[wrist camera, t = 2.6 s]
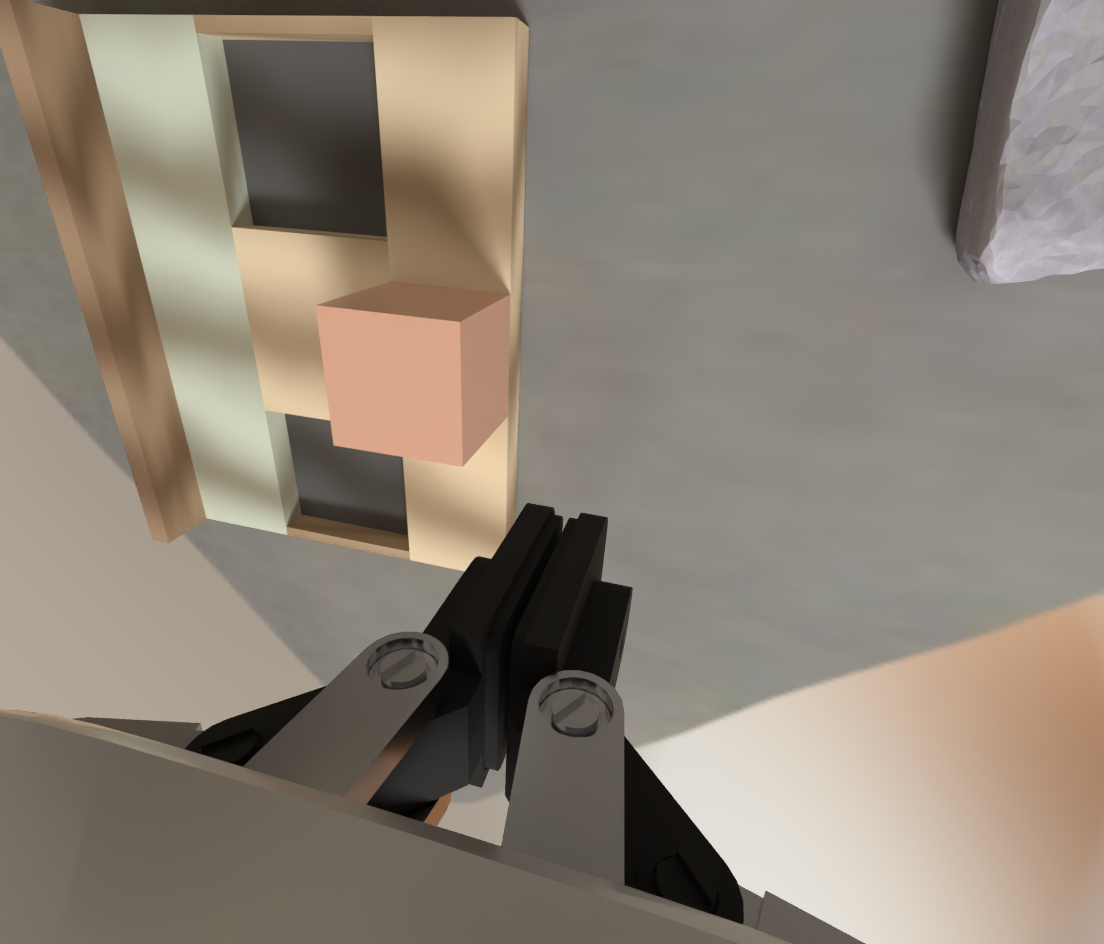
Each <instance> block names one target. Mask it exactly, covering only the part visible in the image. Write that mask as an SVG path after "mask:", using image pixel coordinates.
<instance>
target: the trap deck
mask: <svg viewBox="0 0 1104 944" xmlns="http://www.w3.org/2000/svg"><path fill="white" fill-rule="evenodd" d="M0 46H1V49H2V52H3V55H4V59H5V62H6V65H7V68H8V72H9V75H10V78H11V81H12V85H13V88H14V91H15V94H16V98H17V101H18V104H19V107H20V111H21V114H22V117H23V120H24V124H25V127H26V130H27V133H28V137H29V140H30V143H31V146H32V150H33V153H34V156H35V159H36V163H37V166H38V169H39V172H40V175H41V179H42V182H43V185H44V188H45V192H46V195H47V198H48V201H49V205H50V208H51V211H52V214H53V218H54V221H55V224H56V227H57V231H58V234H59V237H60V240H61V244H62V247H63V250H64V253H65V257H66V260H67V263H68V266H69V270H70V273H71V276H72V279H73V283H74V286H75V289H76V292H77V296H78V299H79V302H80V305H81V308H82V312H83V315H84V318H85V321H86V325H87V328H88V331H89V334H90V338H91V341H92V344H93V347H94V351H95V354H96V357H97V360H98V364H99V367H100V370H101V373H102V377H103V380H104V383H105V386H106V390H107V393H108V396H109V399H110V403H111V406H112V409H113V412H114V416H115V419H116V422H117V425H118V428H119V432H120V435H121V438H122V441H123V445H124V448H125V451H126V454H127V458H128V461H129V464H130V467H131V471H132V474H133V477H134V480H135V484H136V487H137V490H138V493H139V497H140V500H141V503H142V506H143V510H144V513H145V516H146V519H147V523H148V526H149V529H150V532H151V535H152V539H153V540H158V541H162V542H167V543H170V542H171V541H173V540H174V539H176V538H177V537H179V536H180V535H182V534H184V533H185V532H187V531H188V530H190V529H191V528H193V527H194V526H196V525H197V524H199V523H200V522H202V521H203V520H205V519H206V518H208V519H213V520H218V521H222V522H227V523H232V524H237V525H242V526H247V527H252V528H257V529H261V530H266V531H271V532H276V533H281V534H286V535H291V536H296V537H301V538H305V539H310V540H315V541H320V542H325V543H330V544H335V545H340V546H344V547H349V548H354V549H359V550H364V551H369V552H374V553H379V554H384V555H388V556H393V557H398V558H403V559H408V560H413V561H418V562H423V563H427V564H432V565H437V566H442V567H447V568H452V569H457V570H462V571H466V569H467V568H468V566H469V565H470V563H471V562H472V561H473V559H474V558H475V557H478V556H480V557H485V558H490V559H492V557H493V555H494V554H495V552H496V551H497V549H498V548H499V546H500V544H501V543H502V541H503V540H504V538H505V537H506V535H507V533H508V532H509V530H510V529H511V527H512V526H513V524H514V523H515V517H516V481H517V445H518V409H519V374H520V338H521V302H522V266H523V231H524V195H525V159H526V123H527V87H528V52H529V27H528V26H527V25H525V24H524V23H523V22H521V21H520V20H519V19H518V18H516V17H432V16H285V15H138V14H76V13H73V12H69V11H65V10H61V9H57V8H53V7H49V6H45V5H41V4H37V3H33V2H29V1H25V0H0ZM387 282H399V283H409V284H418V285H428V286H438V287H447V288H457V289H466V290H476V291H486V292H495V293H505V294H510V339H509V391H508V417H507V418H506V419H505V420H504V421H503V423H502V424H501V425H500V426H499V427H498V428H497V429H496V430H495V431H494V433H493V434H492V435H491V436H490V437H489V438H488V439H487V440H486V442H485V443H484V444H483V445H482V446H481V447H480V448H479V449H478V451H477V452H476V453H475V454H474V455H473V456H472V457H471V458H470V460H469V461H468V462H467V463H466V464H465V465H464V466H463V467H459V466H453V465H448V464H442V463H436V462H430V461H424V460H418V459H412V458H406V457H400V456H394V455H388V454H382V453H376V452H370V451H364V450H358V449H352V448H346V447H340V446H334V445H333V437H332V429H331V422H330V414H329V406H328V398H327V391H326V383H325V375H324V367H323V360H322V352H321V344H320V336H319V329H318V321H317V313H316V306H315V305H318V304H321V303H324V302H327V301H330V300H334V299H337V298H340V297H343V296H346V295H349V294H353V293H356V292H359V291H362V290H365V289H368V288H372V287H375V286H378V285H381V284H384V283H387Z"/></svg>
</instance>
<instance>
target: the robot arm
mask: <svg viewBox="0 0 1104 944" xmlns="http://www.w3.org/2000/svg"><path fill="white" fill-rule="evenodd" d="M607 524H608V518H607V517H603V516H597V515H592V514H586V513H580V515H579V517H578V519H575V518H569V519H568V521H567V524H566V526H565V528H564V530H563V532H562V527H563V517H562V516H558V515H555V511H554V508H553V507H547V506H542V505H536V504H531V503H527V504H526V505H525V507H524V508H523V510H522V512H521V513H520V515H519V516H518V518H517V519H516V521H515V523H514V524H513V526H512V527H511V529H510V530H509V532H508V533H507V535H506V537H505V538H504V540H503V541H502V543H501V544H500V546H499V548H498V549H497V551H496V552H495V554H494V555H493V557H492V559H490V558H485V557H480V556H478V557H475V558H474V559H473V561H472V562H471V563H470V565H469V566H468V568H467V569H466V571H465V572H464V573H463V575H462V576H461V578H460V579H459V581H458V582H457V584H456V585H455V587H454V588H453V590H452V591H451V592H450V594H449V595H448V597H447V598H446V600H445V601H444V603H443V604H442V606H441V607H440V608H439V610H438V611H437V613H436V614H435V616H434V617H433V619H432V620H431V622H430V623H429V625H428V626H427V627H426V629H425V630H424V632H423V633H419V632H400V633H395V634H390V635H388V636H385V637H383V638H381V639H378V640H376V641H375V642H374V643H372V644H371V645H370V646H368V647H367V648H366V649H365V650H364V651H363V652H362V653H361V654H360V655H358V656H357V657H356V658H355V659H354V660H353V661H352V662H351V663H350V664H349V665H348V666H347V667H346V668H345V669H344V670H343V671H342V672H341V673H340V674H339V675H338V676H337V677H336V678H335V679H334V680H332V681H331V682H330V683H329V684H328V685H327V686H325V687H322V688H319V689H316V690H313V691H310V692H307V693H304V694H301V695H298V696H295V697H292V698H289V699H286V700H283V701H280V702H277V703H274V704H271V705H268V706H265V707H262V708H259V709H256V710H253V711H250V712H247V713H245V714H241V715H238V716H235V717H232V718H229V719H226V720H224V721H222V722H220V723H217V724H215V725H213V726H211V727H210V728H208V729H207V730H205V731H202V727H201V724H200V723H187V722H169V721H148V720H131V719H112V718H93V717H86V718H75V719H70V718H65V717H60V716H56V715H48V714H41V713H34V712H27V711H20V710H0V944H865V943H863V942H861V941H859V940H857V939H855V938H854V937H852V936H850V935H848V934H846V933H844V932H842V931H840V930H839V929H837V928H835V927H833V926H831V925H829V924H827V923H826V922H824V921H822V920H820V919H818V918H816V917H814V916H813V915H811V914H809V913H807V912H805V911H803V910H801V909H799V908H798V907H796V906H794V905H792V904H790V903H788V902H786V901H784V900H782V899H781V898H779V897H777V896H775V895H773V894H771V893H769V892H767V891H765V894H764V897H763V898H762V897H760V896H758V895H756V894H754V893H753V892H751V891H749V890H747V889H745V888H743V887H741V886H740V885H738V883H737V881H736V879H735V877H734V876H733V874H732V872H731V871H730V869H729V868H728V866H727V865H726V863H725V862H724V860H723V859H722V858H721V857H720V855H719V854H718V853H717V852H716V850H715V849H714V848H713V847H712V845H711V844H710V843H709V842H708V840H707V839H706V838H705V837H704V836H703V834H702V833H701V832H700V830H699V829H698V828H697V827H696V825H695V824H694V823H693V822H692V820H691V819H690V818H689V817H688V815H687V814H686V813H685V812H684V810H683V809H682V808H681V807H680V805H679V804H678V803H677V801H676V800H675V799H674V798H673V797H672V795H671V794H670V793H669V792H668V790H667V789H666V788H665V786H664V785H663V784H662V783H661V782H660V780H659V779H658V778H657V776H656V775H655V774H654V773H653V771H652V770H651V769H650V768H649V766H648V765H647V764H646V763H645V761H644V760H643V759H642V758H641V756H640V755H639V754H638V752H637V751H636V750H635V749H634V747H633V746H632V745H631V744H630V742H629V741H628V740H627V739H626V737H625V736H624V708H623V703H622V699H621V698H620V696H619V694H618V693H617V691H616V689H615V686H616V681H617V676H618V672H619V667H620V663H621V658H622V653H623V648H624V643H625V637H626V631H627V625H628V619H629V612H630V605H631V598H632V590H633V589H632V587H628V586H623V585H618V584H613V583H608V582H603V581H601V577H602V569H603V560H604V551H605V542H606V534H607ZM506 753H507V755H506ZM505 755H506V784H505V796H506V798H507V799H508V801H509V807H508V813H507V818H506V823H505V829H504V835H503V840H502V845H501V846H498V845H494V844H491V843H488V842H485V841H482V840H479V839H476V838H472V837H469V836H466V835H463V834H459V833H456V832H453V831H450V830H447V829H443V828H440V827H437V825H438V824H439V822H440V820H441V819H442V817H443V815H444V814H445V812H446V810H447V808H448V806H449V804H450V801H451V795H452V792H453V791H456V790H458V789H460V788H462V787H464V786H466V785H469V784H471V785H474V786H478V787H481V788H482V786H483V783H484V781H485V779H486V776H487V774H488V771H489V769H493V770H496V771H498V770H499V769H500V768H501V765H502V763H503V761H504V758H505Z"/></svg>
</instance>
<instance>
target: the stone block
mask: <svg viewBox="0 0 1104 944" xmlns="http://www.w3.org/2000/svg"><path fill="white" fill-rule="evenodd" d="M955 242H956V252H957V259H958V261H959V263H960V264H961V266H962V267H963V268H964V270H965V271H966V272H967V273H968V275H969V276H970V277H971V278H972V280H973V281H974V282H985V283H993V284H998V283H1012V282H1023V281H1033V280H1037V279H1039V278H1042V277H1045V276H1048V275H1054V274H1074V273H1078V272H1082V271H1086V270H1091V269H1101V268H1104V0H998V6H997V11H996V17H995V22H994V27H993V32H992V37H991V42H990V48H989V53H988V61H987V67H986V72H985V78H984V83H983V88H982V93H981V98H980V103H979V109H978V114H977V120H976V126H975V133H974V141H973V150H972V154H971V158H970V163H969V168H968V173H967V178H966V183H965V188H964V192H963V197H962V202H961V207H960V213H959V219H958V225H957V230H956V238H955Z"/></svg>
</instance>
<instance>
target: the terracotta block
mask: <svg viewBox="0 0 1104 944" xmlns="http://www.w3.org/2000/svg"><path fill="white" fill-rule="evenodd" d="M315 306H316V313H317V321H318V329H319V336H320V344H321V352H322V360H323V367H324V375H325V383H326V391H327V398H328V406H329V414H330V422H331V429H332V437H333V445H334V446H340V447H346V448H352V449H358V450H364V451H370V452H376V453H382V454H388V455H394V456H400V457H406V458H412V459H418V460H424V461H430V462H436V463H442V464H448V465H453V466H459V467H463V466H464V465H465V464H466V463H467V462H468V461H469V460H470V458H471V457H472V456H473V455H474V454H475V453H476V452H477V451H478V449H479V448H480V447H481V446H482V445H483V444H484V443H485V442H486V440H487V439H488V438H489V437H490V436H491V435H492V434H493V433H494V431H495V430H496V429H497V428H498V427H499V426H500V425H501V424H502V423H503V421H504V420H505V419H506V418H507V417H508V391H509V339H510V294H505V293H495V292H486V291H476V290H466V289H457V288H447V287H438V286H428V285H418V284H409V283H399V282H387V283H384V284H381V285H378V286H375V287H372V288H368V289H365V290H362V291H359V292H356V293H353V294H349V295H346V296H343V297H340V298H337V299H334V300H330V301H327V302H324V303H321V304H318V305H315Z"/></svg>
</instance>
